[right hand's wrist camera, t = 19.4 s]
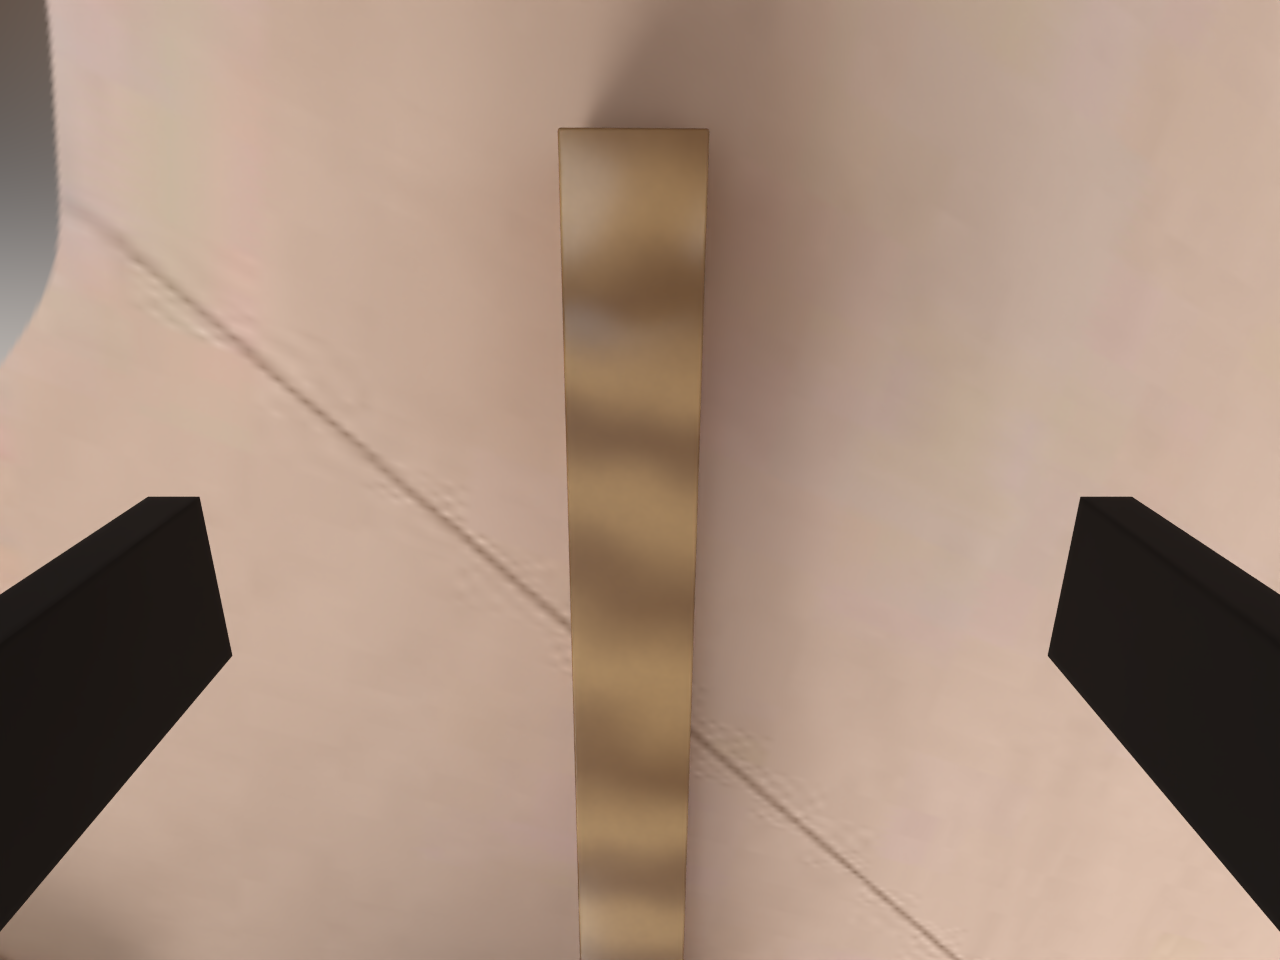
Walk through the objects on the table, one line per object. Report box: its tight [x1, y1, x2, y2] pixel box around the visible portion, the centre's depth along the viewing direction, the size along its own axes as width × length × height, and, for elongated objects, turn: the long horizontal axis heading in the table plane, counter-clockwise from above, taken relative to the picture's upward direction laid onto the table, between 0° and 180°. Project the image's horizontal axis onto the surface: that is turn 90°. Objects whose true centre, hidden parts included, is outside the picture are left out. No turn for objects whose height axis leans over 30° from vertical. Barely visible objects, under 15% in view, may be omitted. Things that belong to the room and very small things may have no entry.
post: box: [558, 128, 709, 960], centre depth 37 cm, size 54×4×9 cm, turn 0°
